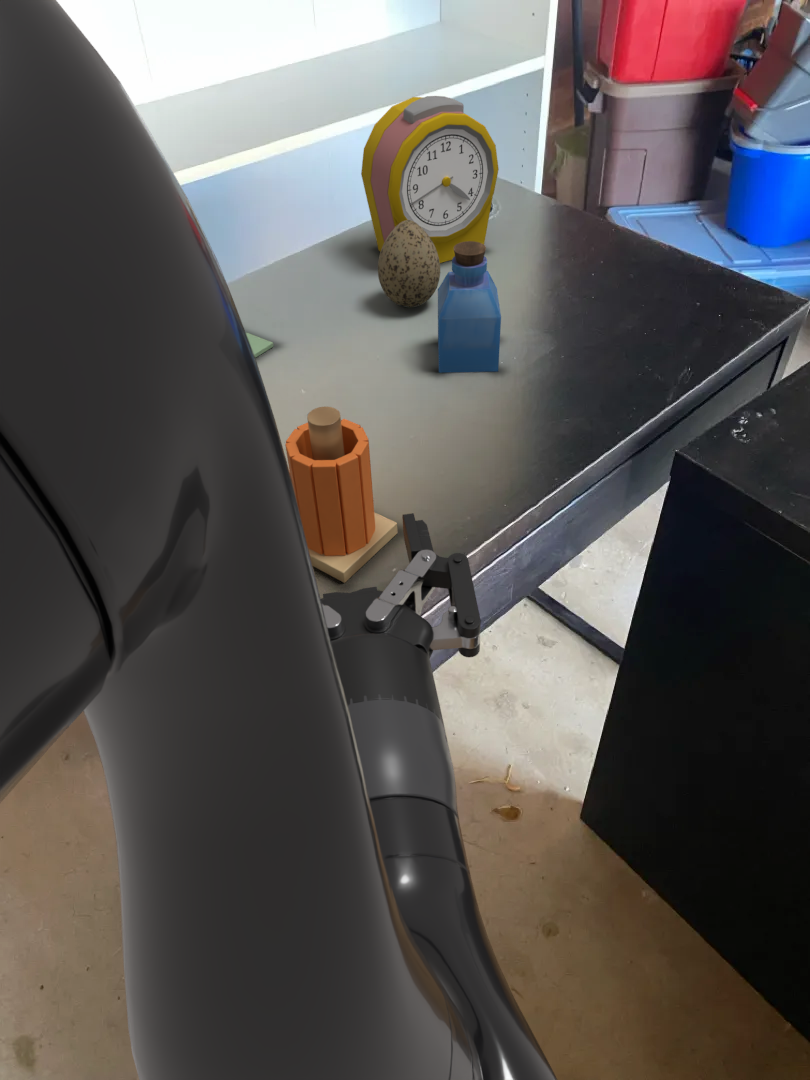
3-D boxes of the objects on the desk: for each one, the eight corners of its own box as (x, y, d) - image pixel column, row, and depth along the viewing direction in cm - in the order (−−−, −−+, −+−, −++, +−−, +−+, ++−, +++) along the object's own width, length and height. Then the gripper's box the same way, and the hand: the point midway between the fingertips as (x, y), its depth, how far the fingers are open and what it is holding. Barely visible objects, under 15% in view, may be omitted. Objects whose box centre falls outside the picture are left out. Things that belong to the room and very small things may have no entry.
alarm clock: (395, 277, 102) (388, 118, 90) (366, 253, 108) (356, 99, 95) (497, 250, 107) (504, 95, 94) (465, 228, 112) (467, 78, 100)
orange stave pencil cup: (343, 567, 64) (332, 477, 58) (284, 536, 67) (268, 447, 61) (389, 524, 68) (384, 435, 62) (332, 496, 70) (321, 408, 64)
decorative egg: (452, 300, 98) (453, 216, 91) (416, 325, 94) (414, 239, 87) (404, 284, 101) (401, 202, 94) (367, 308, 97) (361, 224, 90)
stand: (344, 583, 65) (329, 457, 56) (278, 548, 68) (255, 423, 59) (398, 533, 69) (391, 407, 60) (333, 502, 72) (318, 378, 63)
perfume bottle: (498, 371, 86) (504, 261, 78) (438, 372, 86) (438, 263, 78) (494, 340, 91) (499, 233, 82) (438, 342, 91) (437, 235, 83)
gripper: (517, 683, 39) (451, 471, 50) (211, 729, 38) (217, 501, 49) (509, 769, 44) (451, 559, 56) (240, 811, 43) (239, 587, 54)
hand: (341, 532), depth 52 cm, fingers open, 8 cm apart
